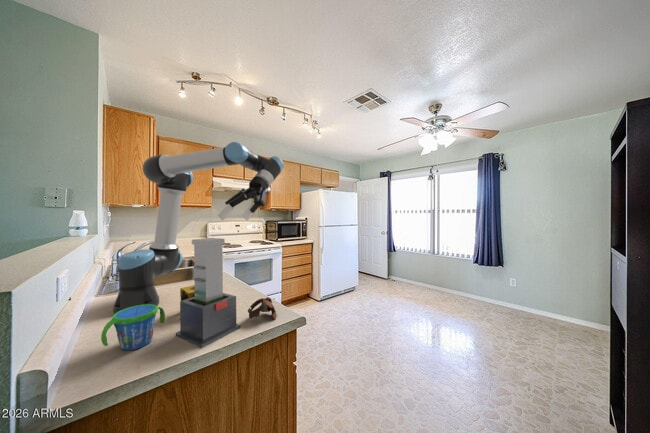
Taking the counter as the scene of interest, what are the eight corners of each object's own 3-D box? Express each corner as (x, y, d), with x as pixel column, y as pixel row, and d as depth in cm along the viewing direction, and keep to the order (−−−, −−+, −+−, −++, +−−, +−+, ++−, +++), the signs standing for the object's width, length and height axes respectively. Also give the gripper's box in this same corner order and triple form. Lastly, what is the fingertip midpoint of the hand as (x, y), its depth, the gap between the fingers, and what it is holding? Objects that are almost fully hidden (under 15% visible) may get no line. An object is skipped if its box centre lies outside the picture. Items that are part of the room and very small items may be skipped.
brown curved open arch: (275, 325, 83) (263, 307, 81) (253, 335, 84) (241, 317, 82) (282, 304, 95) (271, 288, 93) (262, 313, 96) (251, 297, 94)
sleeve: (175, 335, 75) (175, 301, 75) (214, 318, 87) (214, 289, 87) (201, 348, 68) (201, 310, 68) (240, 327, 80) (240, 295, 80)
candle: (216, 312, 93) (216, 287, 93) (188, 320, 86) (188, 293, 86) (206, 305, 100) (206, 282, 100) (180, 312, 93) (179, 287, 93)
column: (191, 311, 76) (191, 239, 76) (212, 304, 82) (211, 237, 82) (205, 316, 72) (204, 240, 72) (225, 308, 79) (224, 238, 79)
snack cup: (108, 364, 61) (108, 325, 61) (95, 352, 66) (94, 316, 66) (173, 337, 74) (173, 305, 74) (157, 329, 79) (157, 299, 79)
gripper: (288, 187, 97) (261, 225, 84) (245, 190, 109) (217, 224, 96) (279, 172, 92) (250, 210, 79) (236, 177, 104) (205, 211, 92)
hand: (232, 217), depth 88 cm, fingers open, 13 cm apart
